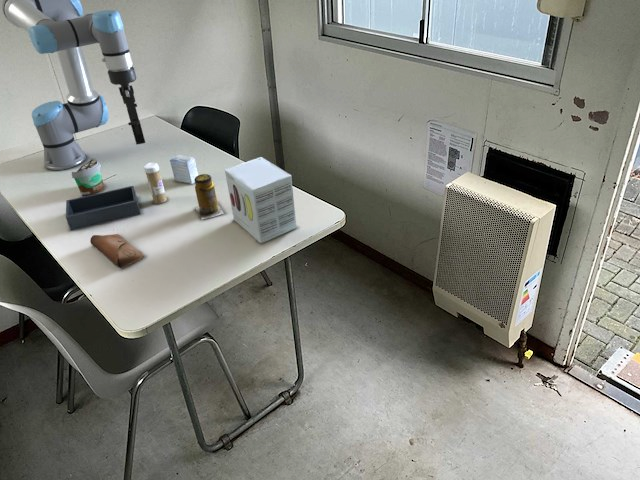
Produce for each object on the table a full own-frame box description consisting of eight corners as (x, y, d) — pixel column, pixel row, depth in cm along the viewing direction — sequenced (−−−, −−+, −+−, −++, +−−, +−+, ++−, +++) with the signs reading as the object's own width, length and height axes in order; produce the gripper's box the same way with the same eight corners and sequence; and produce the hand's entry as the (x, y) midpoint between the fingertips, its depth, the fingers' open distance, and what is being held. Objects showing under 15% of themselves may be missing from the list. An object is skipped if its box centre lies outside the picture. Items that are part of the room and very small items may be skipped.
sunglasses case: (146, 255, 147) (130, 244, 141) (130, 274, 145) (113, 264, 140) (117, 233, 157) (101, 222, 152) (102, 251, 156) (85, 240, 151)
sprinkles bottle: (163, 204, 172) (154, 168, 164) (151, 203, 173) (141, 168, 165) (169, 197, 175) (160, 162, 168) (157, 197, 176) (147, 161, 169)
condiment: (216, 202, 171) (210, 170, 164) (224, 214, 164) (217, 181, 157) (195, 208, 168) (188, 176, 161) (202, 220, 162) (194, 187, 155)
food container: (95, 199, 178) (86, 173, 172) (80, 198, 179) (70, 172, 173) (114, 182, 188) (106, 157, 182) (99, 181, 189) (90, 157, 183)
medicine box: (199, 179, 186) (194, 157, 181) (192, 184, 182) (187, 162, 178) (182, 175, 189) (177, 154, 184) (174, 181, 185) (169, 159, 180)
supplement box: (232, 220, 160) (222, 169, 150) (268, 206, 167) (261, 155, 156) (260, 244, 149) (252, 190, 138) (298, 228, 155) (292, 174, 145)
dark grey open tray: (71, 212, 171) (66, 200, 168) (137, 197, 177) (133, 185, 174) (70, 230, 161) (65, 217, 159) (140, 214, 167) (136, 201, 165)
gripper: (105, 59, 159) (123, 124, 171) (109, 81, 139) (129, 152, 152) (129, 56, 161) (146, 120, 173) (137, 77, 142) (155, 147, 154)
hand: (138, 135), depth 162 cm, fingers open, 13 cm apart
